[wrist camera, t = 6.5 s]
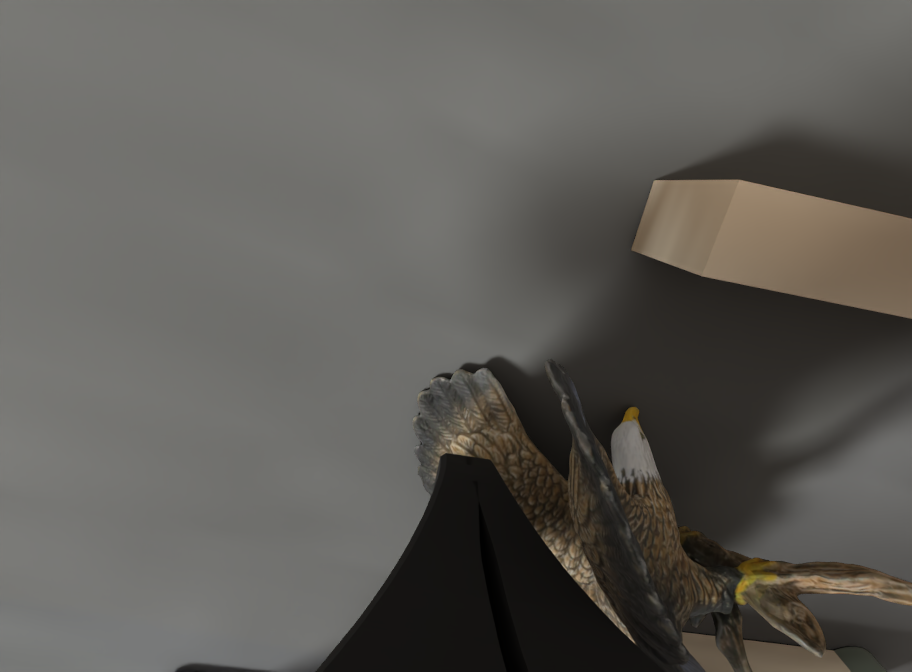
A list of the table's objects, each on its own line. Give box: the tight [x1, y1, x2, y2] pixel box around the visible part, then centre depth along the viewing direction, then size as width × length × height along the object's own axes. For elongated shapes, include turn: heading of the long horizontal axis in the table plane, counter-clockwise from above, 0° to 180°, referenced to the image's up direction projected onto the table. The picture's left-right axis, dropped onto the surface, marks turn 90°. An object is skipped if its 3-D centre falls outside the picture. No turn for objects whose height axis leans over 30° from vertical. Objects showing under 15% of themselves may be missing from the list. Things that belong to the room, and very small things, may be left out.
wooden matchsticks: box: [631, 180, 912, 672], centre depth 11 cm, size 16×14×5 cm
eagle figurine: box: [412, 359, 912, 672], centre depth 10 cm, size 8×7×9 cm
